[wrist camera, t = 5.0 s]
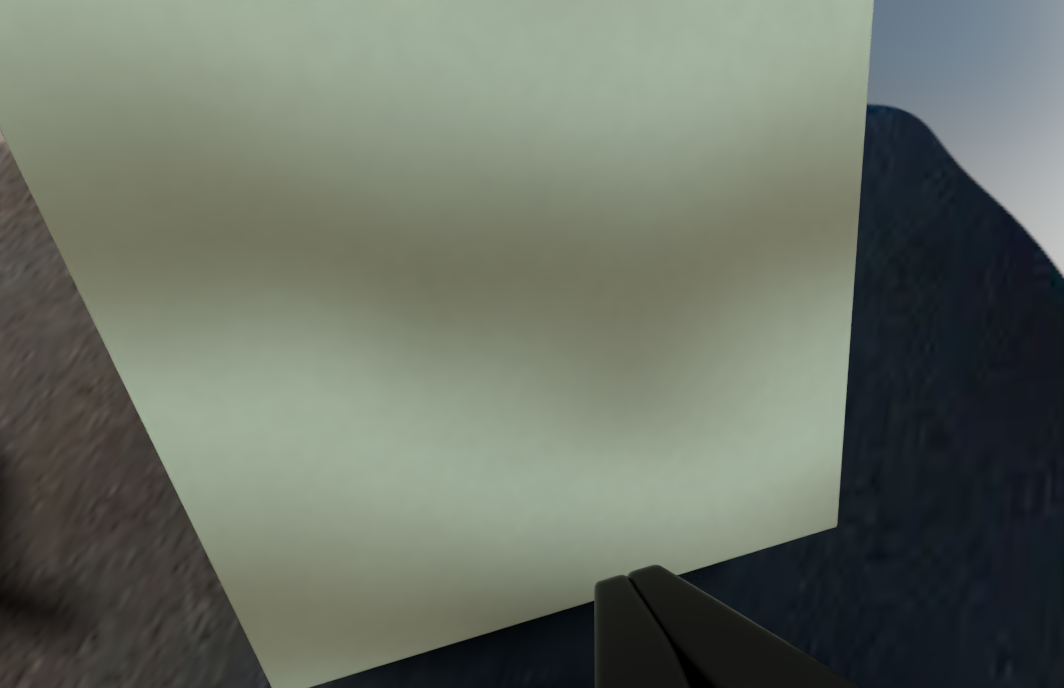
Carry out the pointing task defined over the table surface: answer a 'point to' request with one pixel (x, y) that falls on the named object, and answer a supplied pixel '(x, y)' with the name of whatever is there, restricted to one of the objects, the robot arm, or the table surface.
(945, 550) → the table surface
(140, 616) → the table surface
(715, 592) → the table surface
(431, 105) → the box lid
